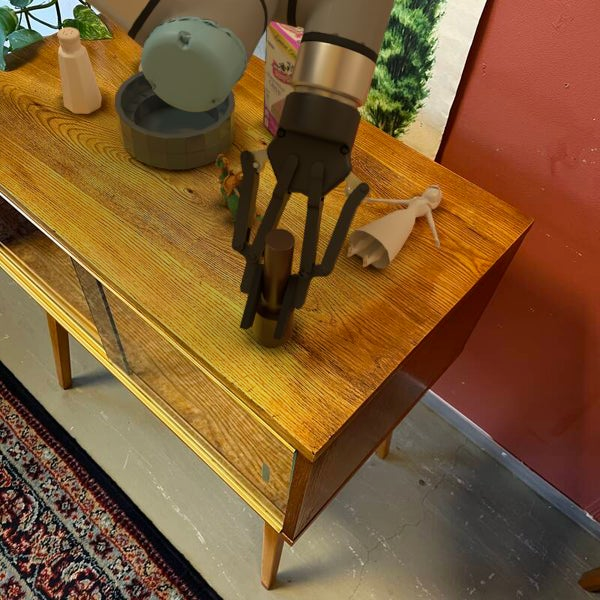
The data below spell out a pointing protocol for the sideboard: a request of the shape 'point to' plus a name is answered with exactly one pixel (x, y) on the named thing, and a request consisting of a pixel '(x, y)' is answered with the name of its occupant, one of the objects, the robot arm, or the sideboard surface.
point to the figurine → (231, 187)
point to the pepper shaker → (77, 74)
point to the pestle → (274, 287)
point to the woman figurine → (392, 228)
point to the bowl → (171, 127)
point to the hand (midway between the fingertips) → (262, 331)
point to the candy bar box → (279, 70)
